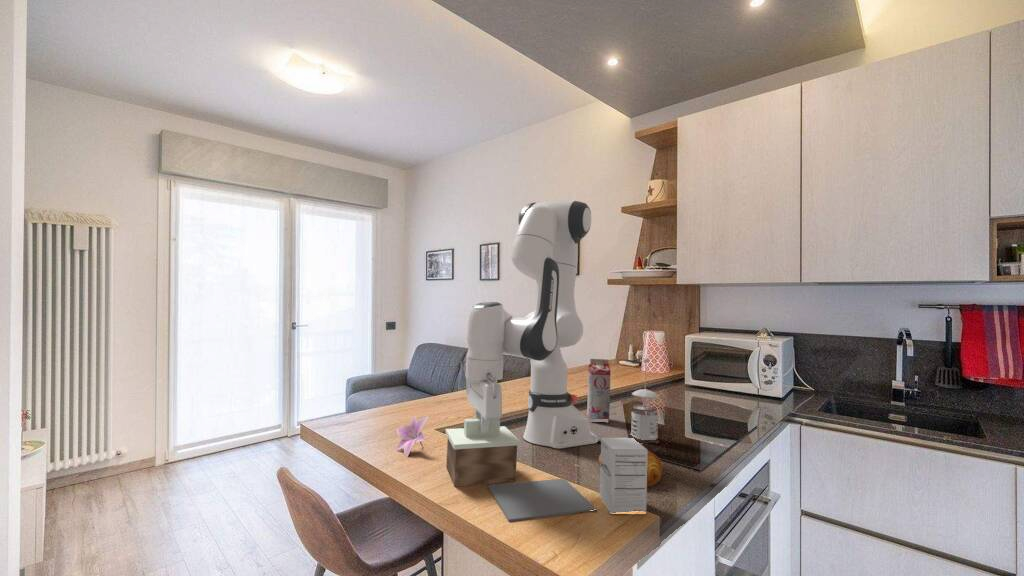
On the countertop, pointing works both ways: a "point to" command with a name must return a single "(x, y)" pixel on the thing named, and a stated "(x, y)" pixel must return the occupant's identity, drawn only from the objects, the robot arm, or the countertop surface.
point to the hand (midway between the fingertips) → (481, 429)
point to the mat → (539, 499)
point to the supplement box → (623, 474)
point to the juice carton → (598, 389)
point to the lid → (481, 435)
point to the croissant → (650, 468)
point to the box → (481, 464)
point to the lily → (411, 434)
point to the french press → (643, 423)
